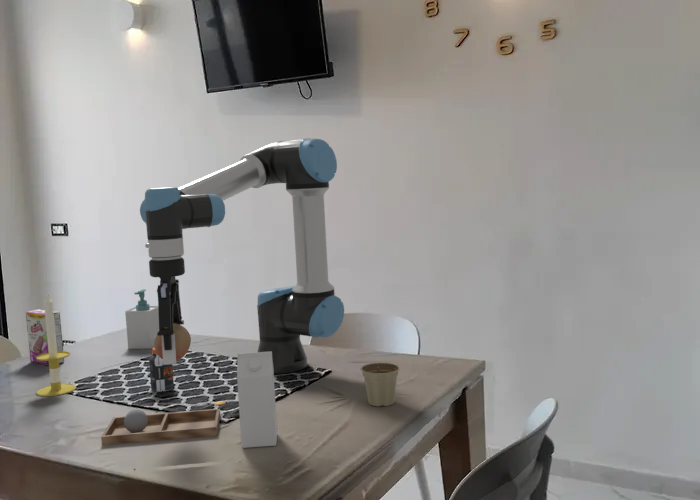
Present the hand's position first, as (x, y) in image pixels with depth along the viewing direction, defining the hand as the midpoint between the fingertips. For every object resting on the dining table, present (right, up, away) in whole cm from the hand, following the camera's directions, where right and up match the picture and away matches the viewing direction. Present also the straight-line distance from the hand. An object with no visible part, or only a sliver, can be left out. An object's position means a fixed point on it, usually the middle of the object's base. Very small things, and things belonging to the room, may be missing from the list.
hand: (173, 358), depth 157 cm
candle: (-40, -14, +34) cm, 54 cm away
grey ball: (-7, -16, -3) cm, 18 cm away
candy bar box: (-56, -12, +65) cm, 86 cm away
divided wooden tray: (-1, -16, -2) cm, 16 cm away
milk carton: (+21, -16, -9) cm, 28 cm away
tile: (+6, -14, +15) cm, 21 cm away
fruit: (0, -1, 0) cm, 1 cm away
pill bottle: (-11, -13, +31) cm, 35 cm away
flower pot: (+47, -13, +12) cm, 50 cm away
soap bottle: (-30, -9, +82) cm, 88 cm away
